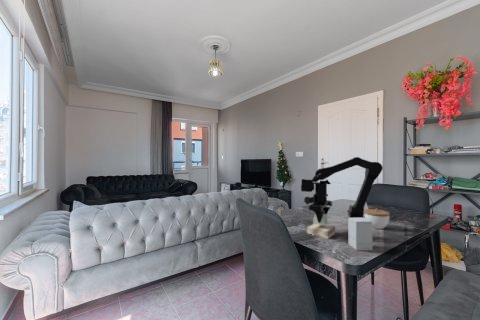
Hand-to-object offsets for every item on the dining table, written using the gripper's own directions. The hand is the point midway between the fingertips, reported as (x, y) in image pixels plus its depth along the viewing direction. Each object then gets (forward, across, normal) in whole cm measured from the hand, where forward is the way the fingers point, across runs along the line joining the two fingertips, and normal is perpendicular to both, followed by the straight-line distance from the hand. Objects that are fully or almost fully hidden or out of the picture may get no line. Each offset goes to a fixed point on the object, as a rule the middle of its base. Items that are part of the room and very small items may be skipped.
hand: (321, 221), depth 117 cm
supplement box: (+7, +7, +20) cm, 22 cm away
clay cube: (+7, -13, -6) cm, 16 cm away
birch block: (+7, 0, 0) cm, 7 cm away
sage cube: (+1, 0, 0) cm, 1 cm away
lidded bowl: (+7, -32, +21) cm, 39 cm away
